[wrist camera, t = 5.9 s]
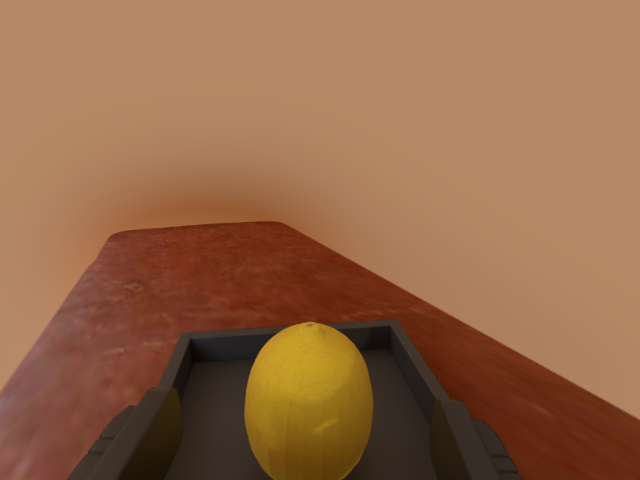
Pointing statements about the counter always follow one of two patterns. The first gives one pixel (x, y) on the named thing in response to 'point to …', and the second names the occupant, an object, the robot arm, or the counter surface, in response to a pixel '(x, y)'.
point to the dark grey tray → (230, 393)
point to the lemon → (308, 404)
